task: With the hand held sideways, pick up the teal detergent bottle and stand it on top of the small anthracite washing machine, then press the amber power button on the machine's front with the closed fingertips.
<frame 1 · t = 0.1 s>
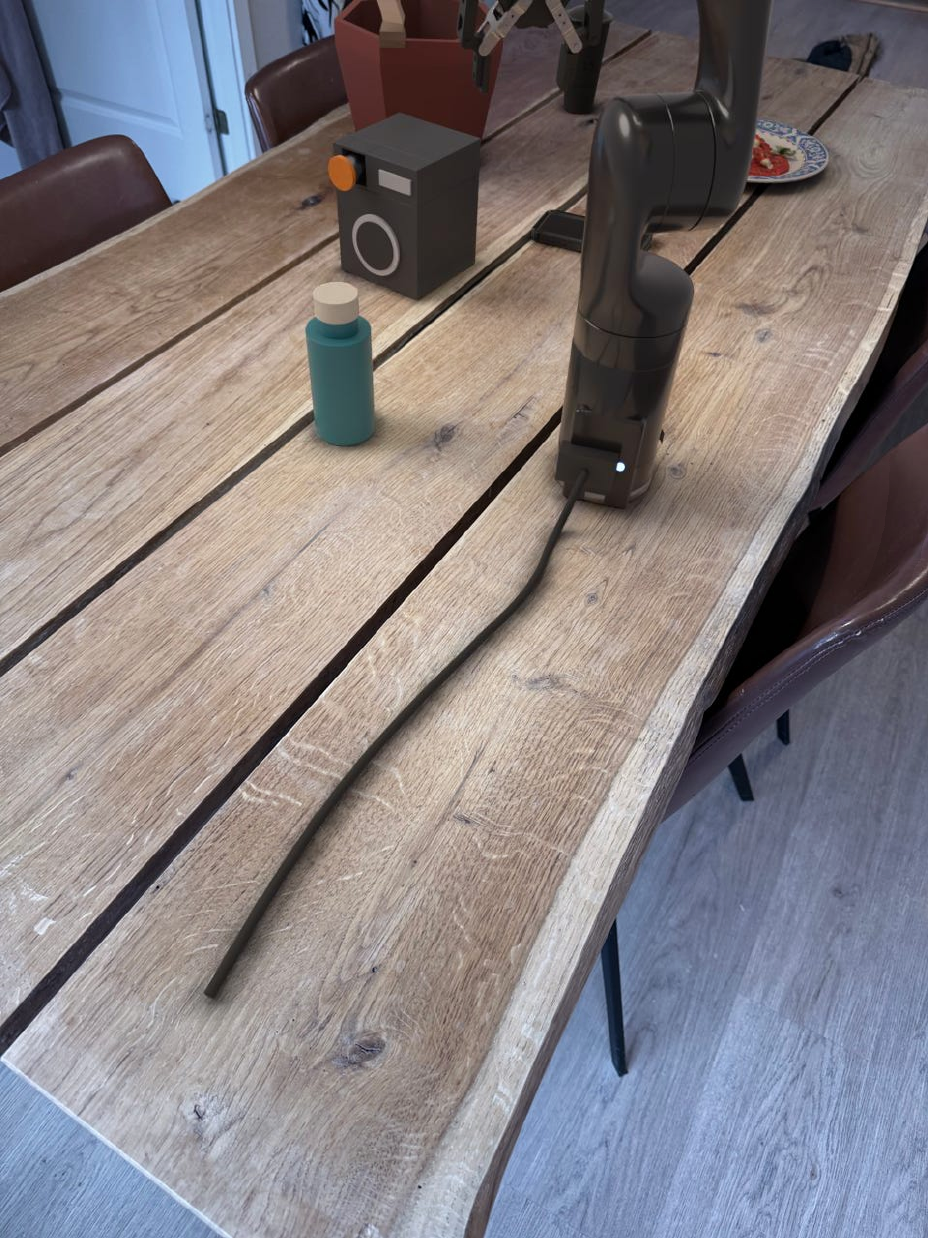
hand: (522, 88, 94), 22 cm above the table, tool pointing down, fingers open, 8 cm apart
bucket: (415, 160, 136), on the table
detergent bottle: (345, 427, 91), on the table
washer: (408, 266, 114), on the table
drinking cup: (577, 109, 153), on the table
power button: (351, 168, 102), point 13 cm above the table, slide at -0.1 cm
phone: (590, 241, 120), on the table
ceramic plate: (739, 161, 141), on the table
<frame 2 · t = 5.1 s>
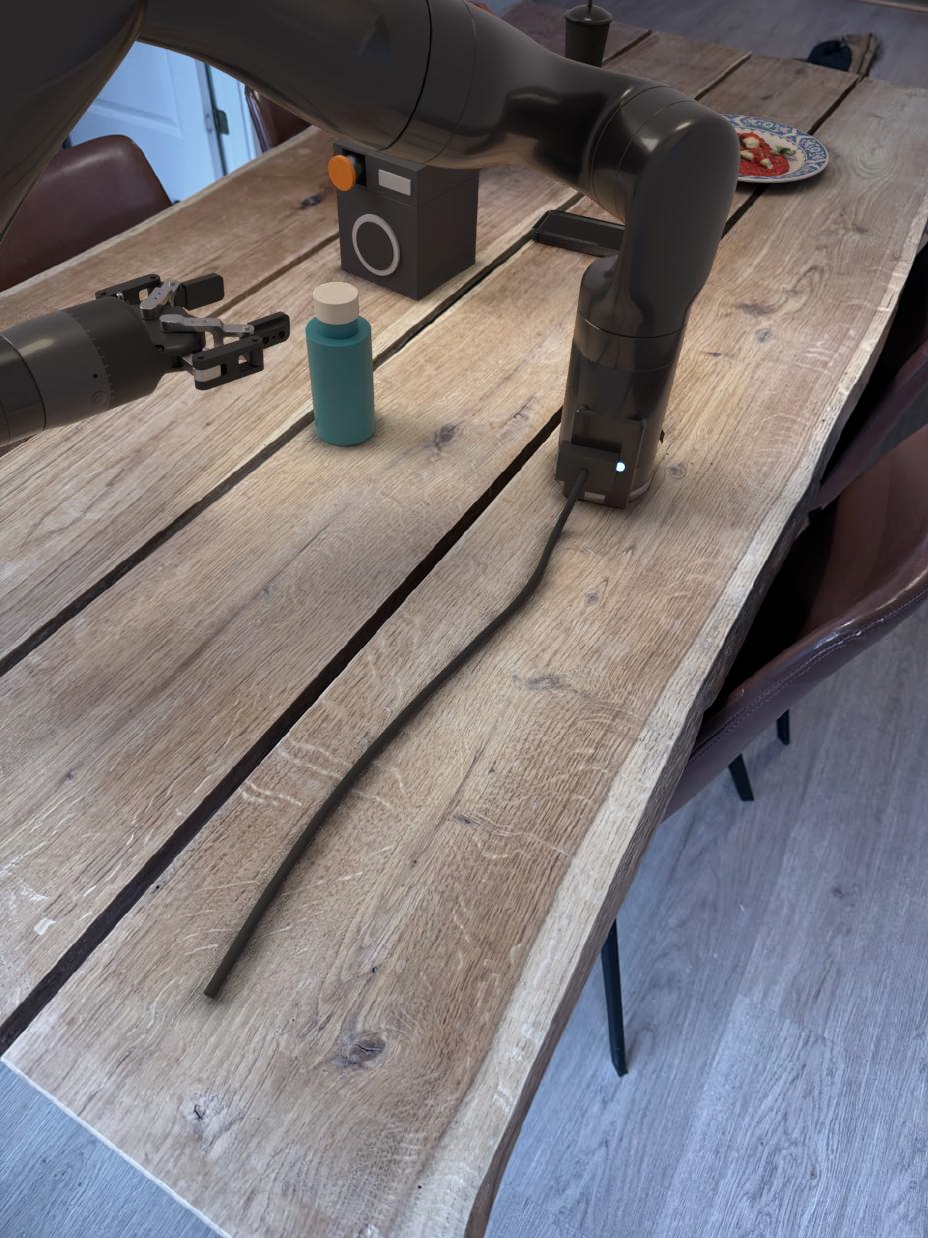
hand: (253, 304, 75), 16 cm above the table, tool horizontal, fingers open, 8 cm apart
nothing on the table moved.
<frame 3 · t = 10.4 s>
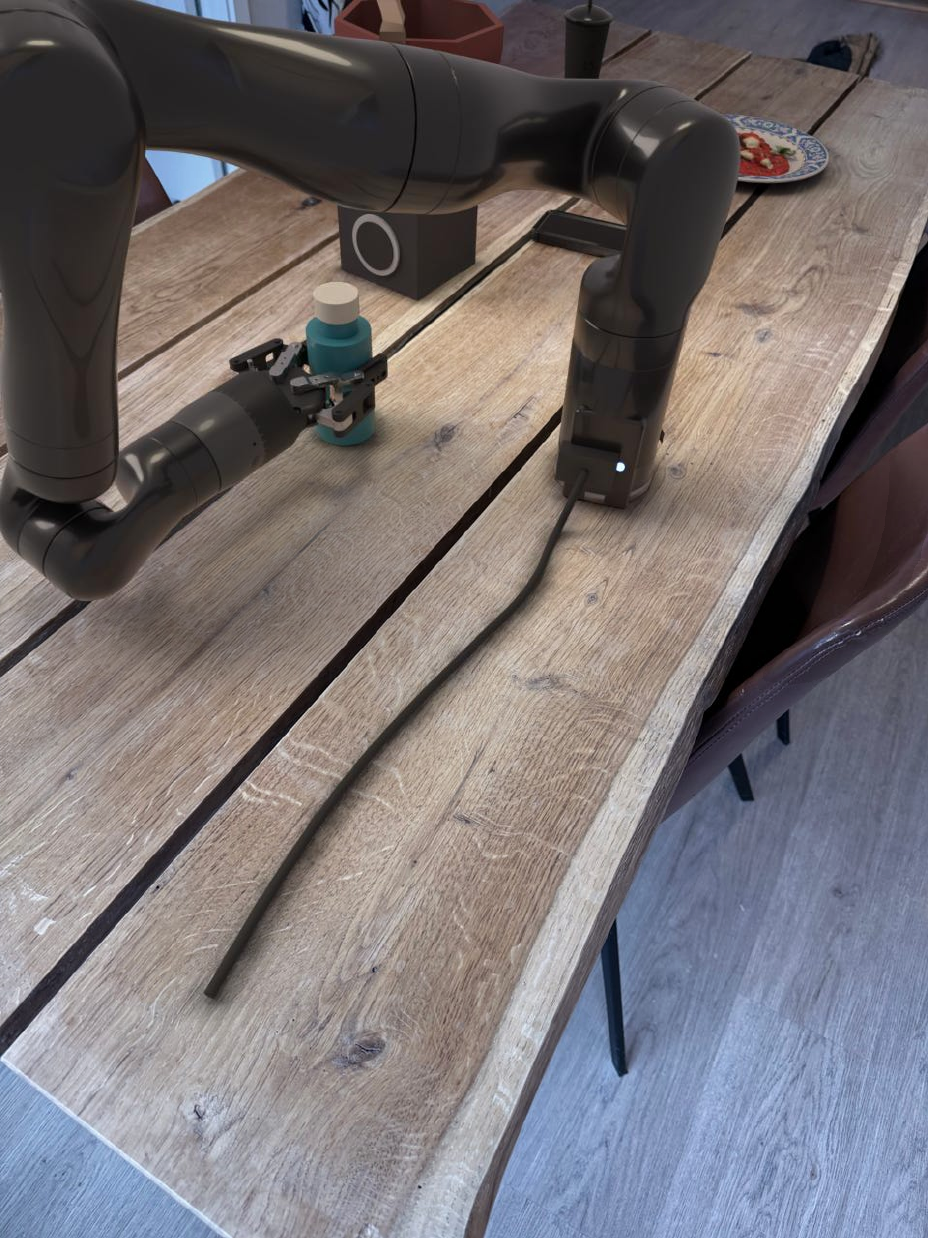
hand: (357, 350, 87), 8 cm above the table, tool horizontal, fingers closed on detergent bottle, 6 cm apart
detergent bottle: (345, 427, 91), on the table, touching gripper
everything else where it was.
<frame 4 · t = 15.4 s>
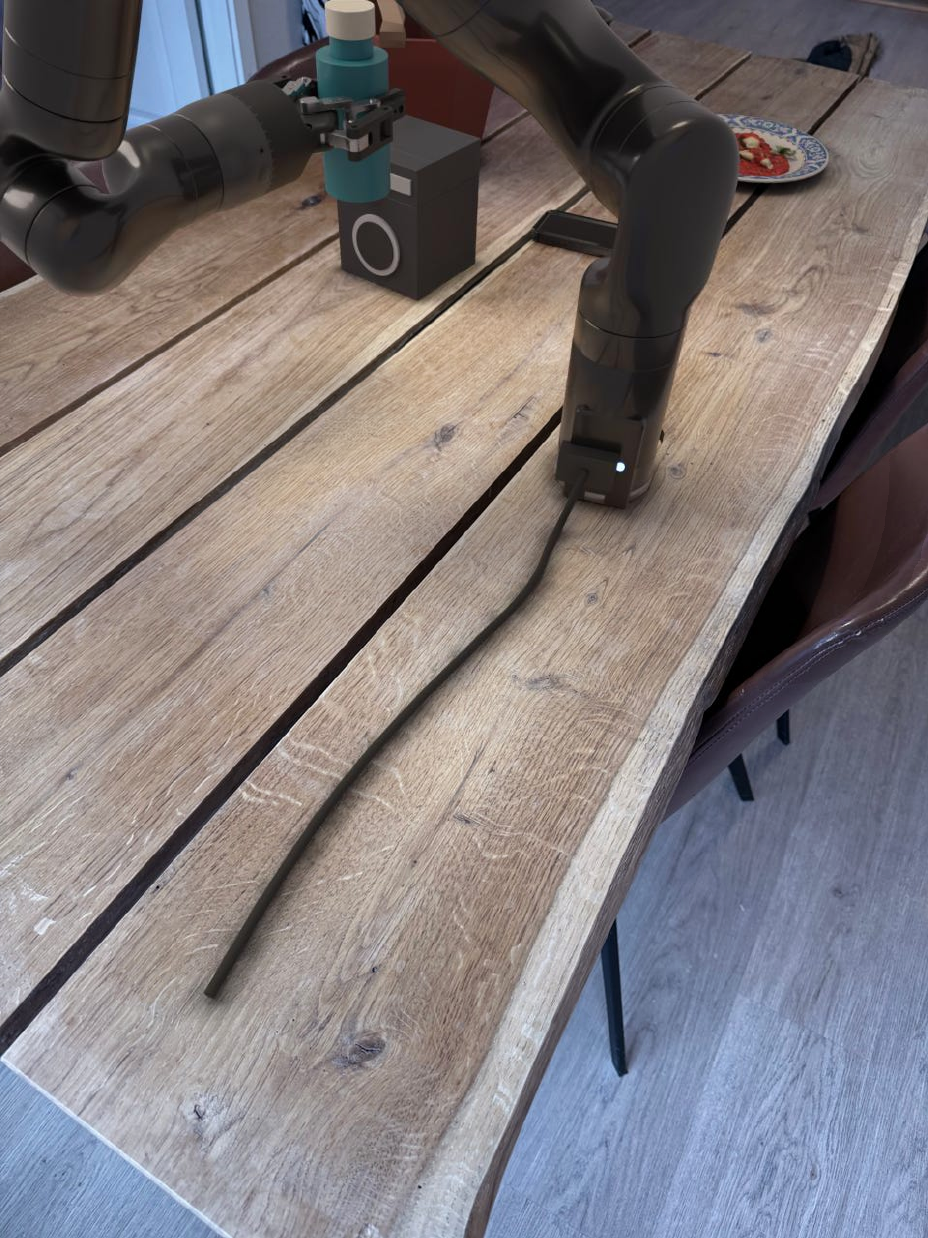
hand: (371, 92, 79), 27 cm above the table, tool horizontal, fingers closed on detergent bottle, 6 cm apart
detergent bottle: (358, 188, 84), point 19 cm above the table, touching gripper
everything else where it was.
when the fingers open (23 cm above the table, at t = 20.6 s): detergent bottle stays where it is, resting on washer.
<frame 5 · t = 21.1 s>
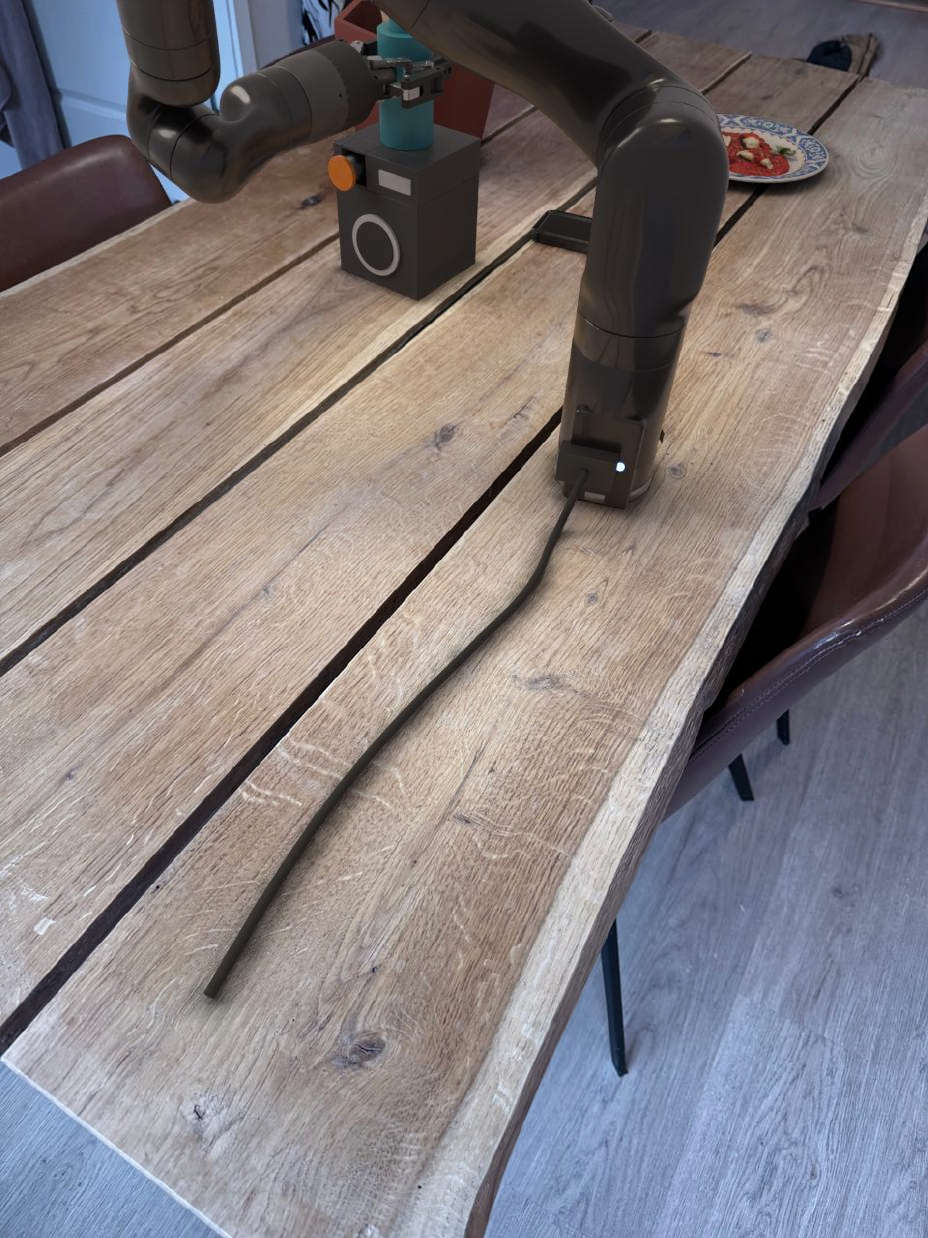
hand: (418, 55, 98), 23 cm above the table, tool horizontal, fingers open, 8 cm apart
detergent bottle: (406, 139, 103), point 15 cm above the table, touching washer
everything else where it was.
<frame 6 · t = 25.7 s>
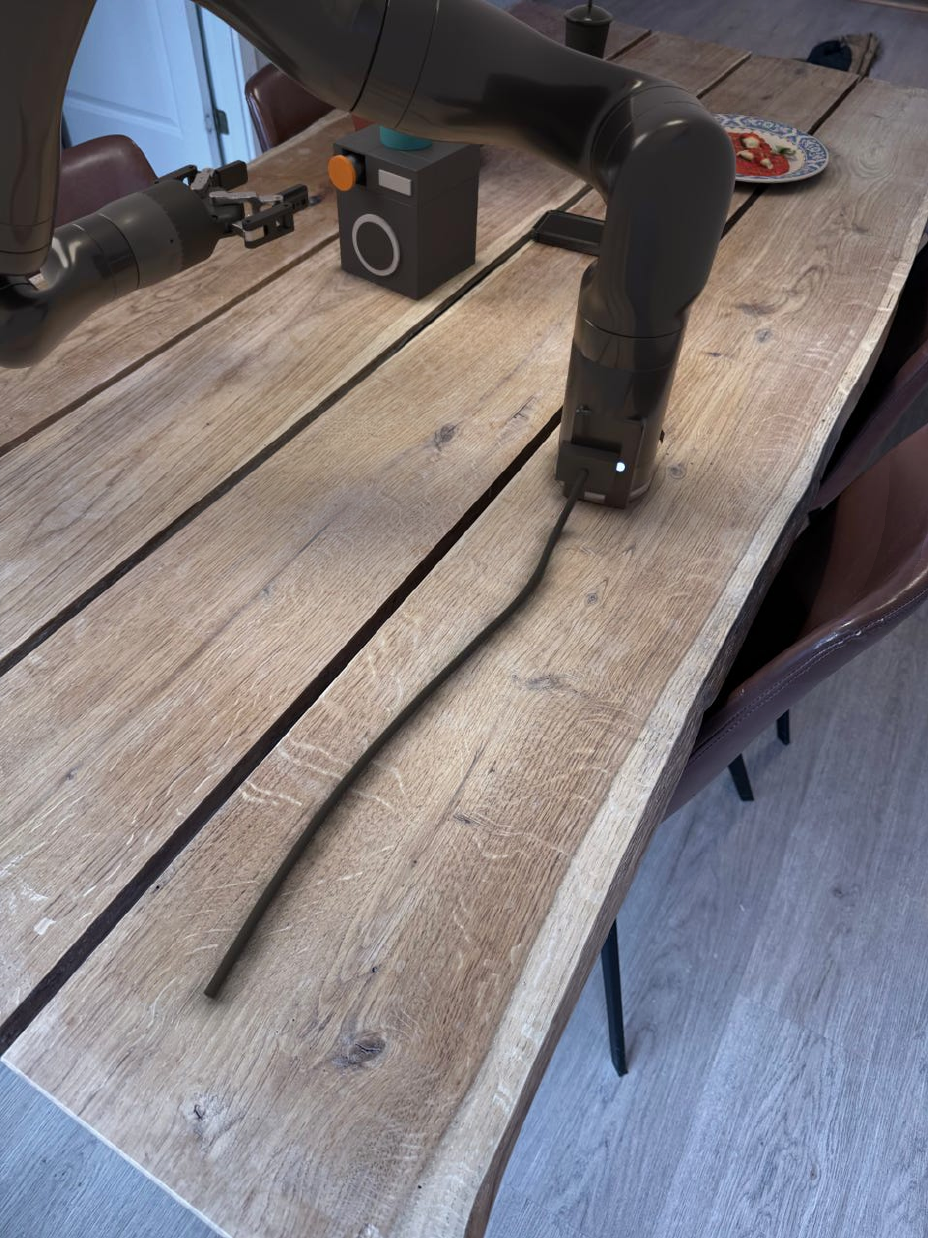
hand: (274, 181, 93), 16 cm above the table, tool horizontal, fingers open, 8 cm apart
nothing on the table moved.
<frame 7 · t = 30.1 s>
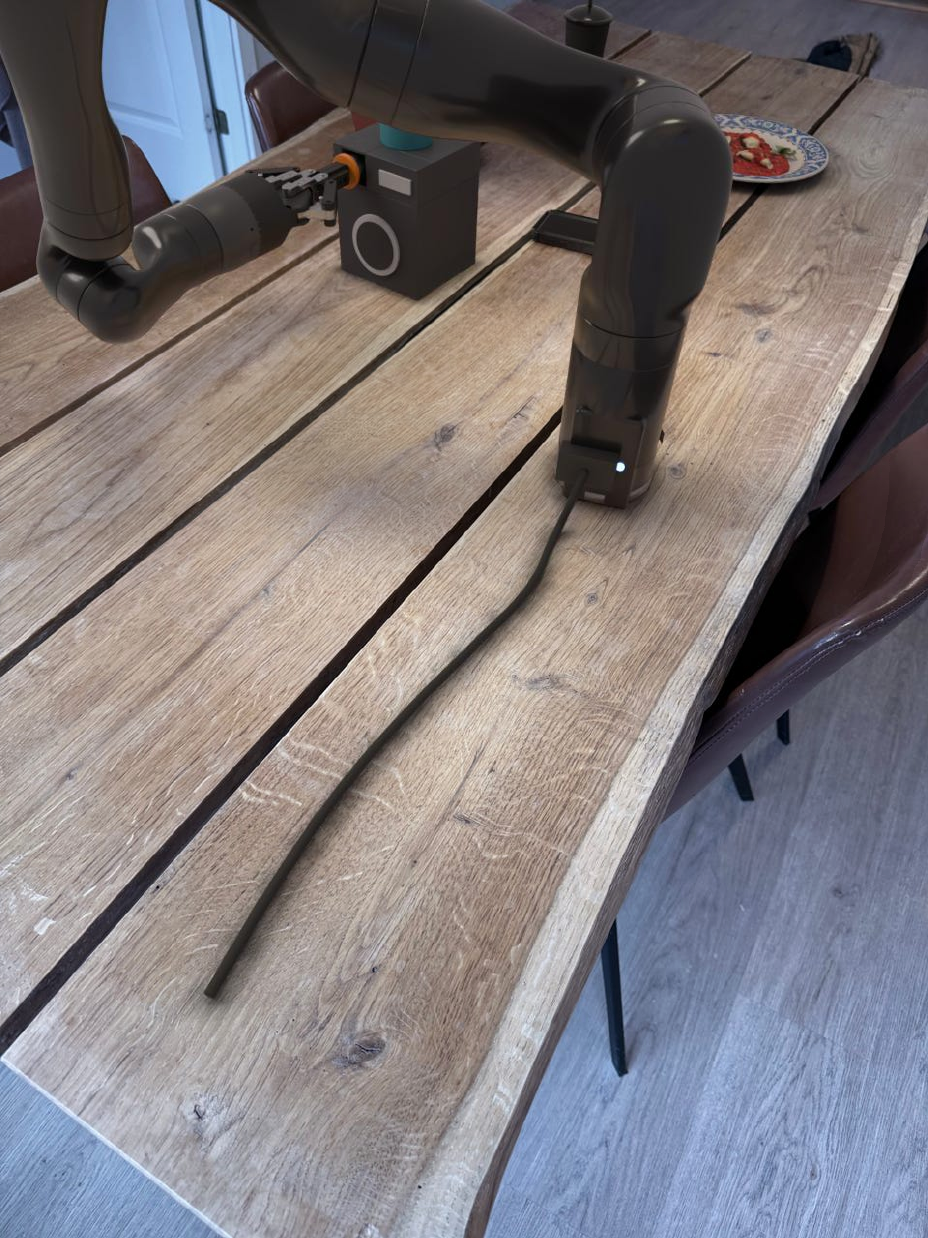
hand: (343, 171, 101), 13 cm above the table, tool horizontal, fingers closed
power button: (355, 166, 102), point 13 cm above the table, slide at 0.6 cm, touching gripper
everything else where it was.
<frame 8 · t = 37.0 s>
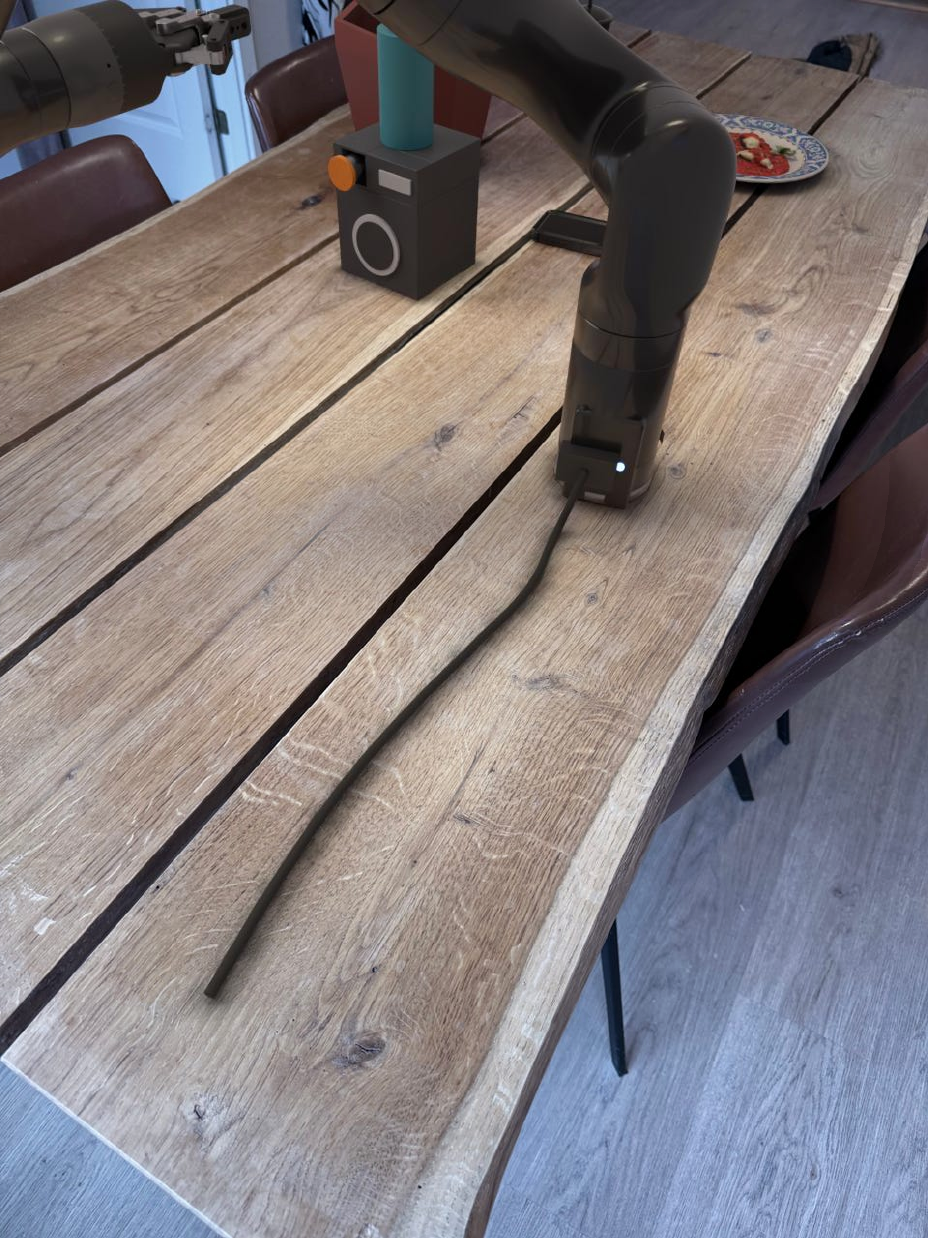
hand: (244, 18, 82), 30 cm above the table, tool horizontal, fingers closed
power button: (351, 168, 102), point 13 cm above the table, slide at -0.1 cm
everything else where it was.
at the end: power button pulled out 1.2 cm at the most during the clip, back to where it started at the end; detergent bottle inside the target area on the washer (0.1 cm from its centre), point 15.0 cm above the washer's base; detergent bottle tilted 0° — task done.
